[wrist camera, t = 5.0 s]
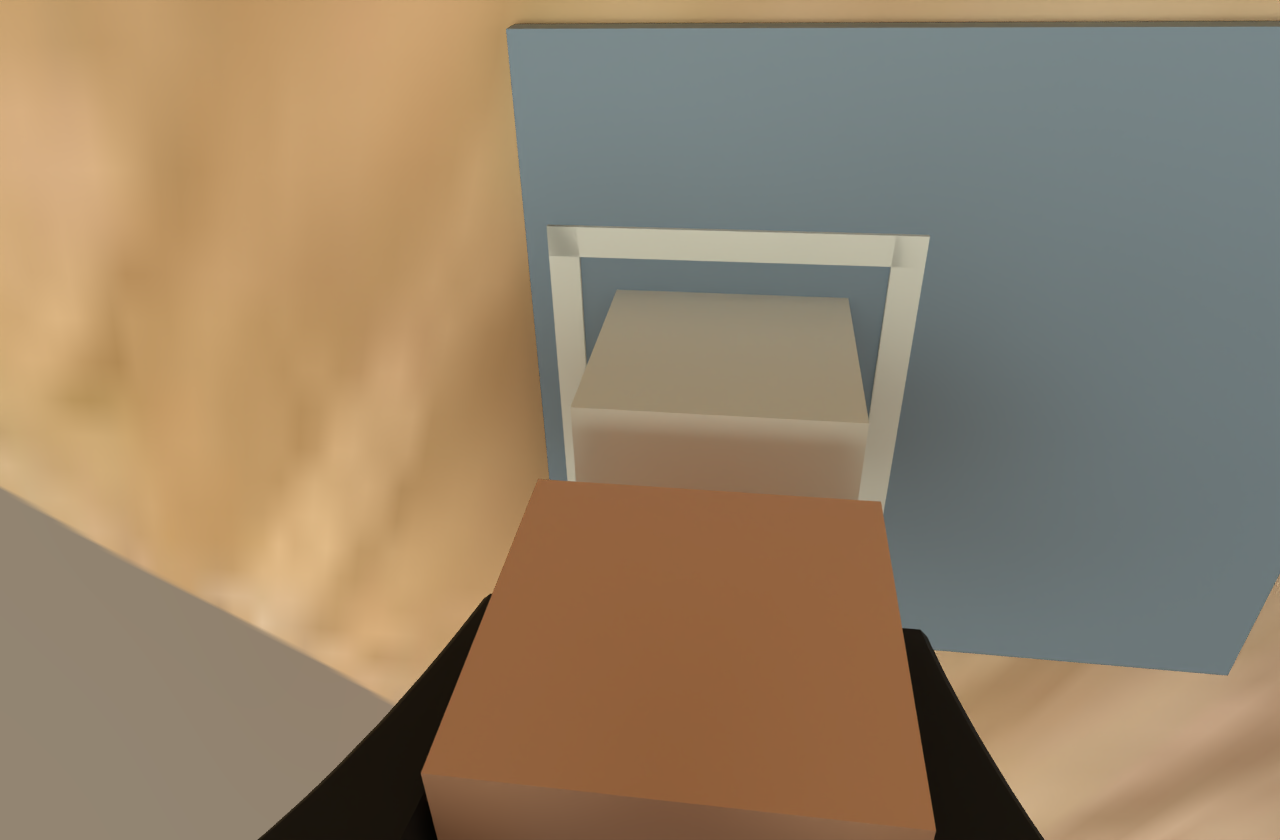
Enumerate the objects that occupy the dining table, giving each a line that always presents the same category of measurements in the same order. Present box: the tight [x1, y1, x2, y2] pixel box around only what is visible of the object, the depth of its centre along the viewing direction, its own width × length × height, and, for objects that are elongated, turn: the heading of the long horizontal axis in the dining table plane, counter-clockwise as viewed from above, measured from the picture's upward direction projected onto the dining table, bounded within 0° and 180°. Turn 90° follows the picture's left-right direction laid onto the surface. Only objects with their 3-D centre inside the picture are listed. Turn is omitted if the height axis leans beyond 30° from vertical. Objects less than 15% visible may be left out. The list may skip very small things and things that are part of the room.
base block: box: [570, 290, 869, 500], centre depth 16 cm, size 4×4×4 cm
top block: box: [421, 479, 936, 840], centre depth 10 cm, size 4×4×4 cm
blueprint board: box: [506, 21, 1280, 675], centre depth 17 cm, size 14×16×1 cm
